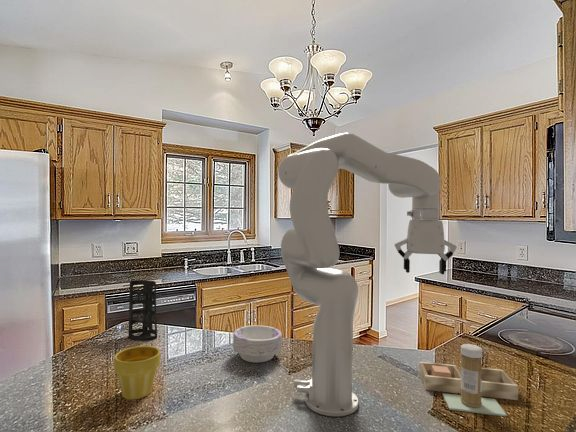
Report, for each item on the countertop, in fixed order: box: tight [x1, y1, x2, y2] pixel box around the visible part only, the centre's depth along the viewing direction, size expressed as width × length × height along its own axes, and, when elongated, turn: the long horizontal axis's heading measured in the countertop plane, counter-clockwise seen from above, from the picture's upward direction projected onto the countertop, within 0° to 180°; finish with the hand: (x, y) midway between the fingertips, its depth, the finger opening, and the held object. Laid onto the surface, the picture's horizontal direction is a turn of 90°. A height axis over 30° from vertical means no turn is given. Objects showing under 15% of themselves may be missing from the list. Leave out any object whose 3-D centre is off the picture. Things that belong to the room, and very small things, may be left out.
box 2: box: [481, 367, 519, 401], centre depth 91 cm, size 10×10×4 cm
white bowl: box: [232, 324, 283, 364], centre depth 109 cm, size 15×15×8 cm
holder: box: [128, 279, 158, 341], centre depth 125 cm, size 11×8×20 cm
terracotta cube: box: [431, 365, 451, 378], centre depth 93 cm, size 4×4×4 cm
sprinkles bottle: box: [460, 343, 483, 408], centre depth 83 cm, size 5×5×14 cm
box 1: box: [418, 361, 461, 395], centre depth 93 cm, size 10×10×4 cm
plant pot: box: [113, 345, 161, 401], centre depth 85 cm, size 10×10×10 cm
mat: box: [442, 392, 508, 417], centre depth 83 cm, size 12×7×1 cm, turn 78°
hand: (424, 272), depth 103 cm, fingers open, 9 cm apart
